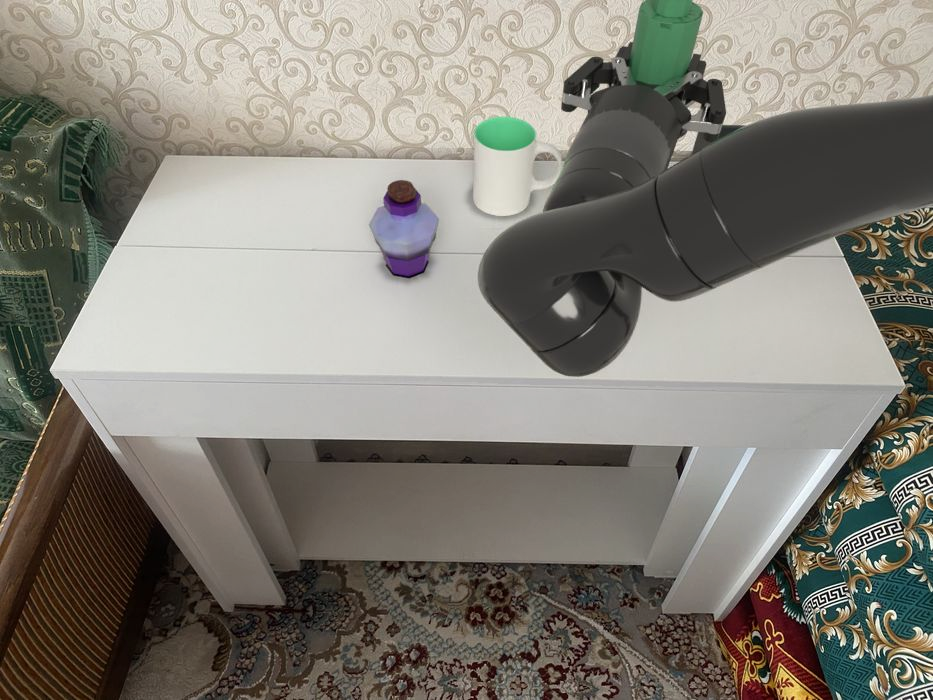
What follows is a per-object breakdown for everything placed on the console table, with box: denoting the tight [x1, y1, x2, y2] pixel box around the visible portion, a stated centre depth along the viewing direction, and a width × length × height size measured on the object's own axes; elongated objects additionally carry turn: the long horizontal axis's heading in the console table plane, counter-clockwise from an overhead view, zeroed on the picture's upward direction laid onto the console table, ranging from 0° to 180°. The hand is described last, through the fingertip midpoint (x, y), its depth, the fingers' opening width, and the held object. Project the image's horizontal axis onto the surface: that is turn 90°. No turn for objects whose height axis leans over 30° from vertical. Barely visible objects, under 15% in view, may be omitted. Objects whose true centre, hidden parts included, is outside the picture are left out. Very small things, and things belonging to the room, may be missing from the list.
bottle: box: [628, 0, 704, 85], centre depth 63 cm, size 5×5×23 cm
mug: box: [472, 116, 563, 217], centre depth 94 cm, size 12×8×10 cm, turn 91°
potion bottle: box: [368, 179, 440, 280], centre depth 84 cm, size 9×9×12 cm
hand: (662, 58), depth 63 cm, fingers closed on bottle, 5 cm apart
